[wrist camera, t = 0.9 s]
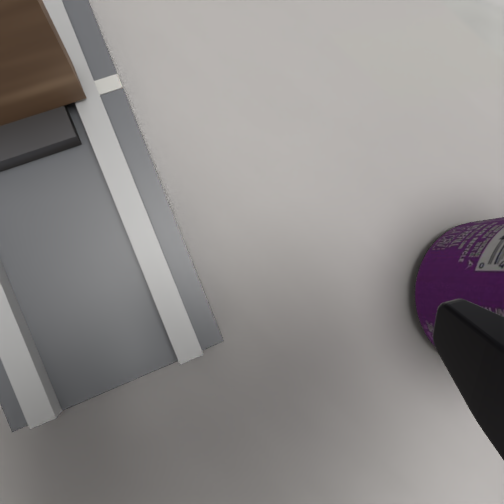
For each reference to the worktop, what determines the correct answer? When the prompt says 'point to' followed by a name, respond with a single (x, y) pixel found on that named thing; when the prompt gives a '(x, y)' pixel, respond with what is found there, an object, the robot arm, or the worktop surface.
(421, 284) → the beverage can
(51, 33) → the fader handle
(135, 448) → the worktop surface
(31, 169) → the fader track
